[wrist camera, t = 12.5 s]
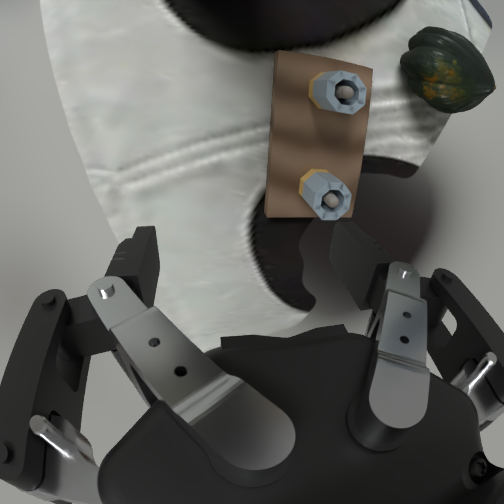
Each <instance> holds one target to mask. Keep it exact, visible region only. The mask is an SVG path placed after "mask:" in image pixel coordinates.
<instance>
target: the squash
mask: <svg viewBox="0 0 504 504" xmlns="http://www.w3.org/2000/svg"><path fill="white" fill-rule="evenodd" d="M408 46H409V50H410V51H408V52H406V53H404V54H403V55H402V56H401V59H400V64H401V66H402V67H403V69H404V70H405V71H406V72H407V73H409V76H408V85H409V87H410V88H411V89H412V90H413V91H414V92H415V93H416V94H417V95H418V96H419V97H420V98H422V99H424V100H426V102H427V103H428V104H429V105H430V106H431V107H433V108H434V109H436V110H438V111H441V112H444V113H450V114H452V113H457V112H464V111H467V110H470V109H472V108H474V107H476V106H477V105H478V104H480V103H481V102H482V101H483V100H484V99H485V98H486V97H487V96H488V95H490V94H491V93H492V92H493V91H494V90H495V89H496V86H495V81H494V78H493V75H492V73H491V71H490V69H489V67H488V65H487V63H486V61H485V59H484V57H483V56H482V54H481V53H480V52H479V51H478V49H477V48H476V47H475V46H474V45H473V44H472V43H471V42H470V41H469V40H468V39H466V38H465V37H464V36H462V35H460V34H458V33H455V32H452V31H448V30H446V29H443V28H439V27H430V26H429V27H425V28H424V29H422V30H421V31H419V32H417V34H416V35H414V36H413V37H412V38H411V39H410V40H409V43H408Z"/></svg>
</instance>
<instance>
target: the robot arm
mask: <svg viewBox="0 0 504 504" xmlns="http://www.w3.org/2000/svg"><path fill="white" fill-rule="evenodd" d="M329 258H330V263H331V265H332V266H333V268H334V269H335V271H336V272H337V274H338V276H339V277H340V279H341V280H342V282H343V283H344V285H345V286H346V288H347V290H348V291H349V293H350V294H351V296H352V297H353V299H354V301H355V302H356V304H357V305H358V307H359V309H360V310H366V309H372V313H371V315H370V318H369V322H368V326H367V329H366V333H365V336H364V335H360V334H355V333H348V332H347V330H346V328H345V326H344V324H341V325H334V326H327V327H320V328H315V329H312V330H309V331H307V332H304V333H301V334H298V335H296V336H292V337H289V338H281V337H271V336H261V335H243V336H229V337H221V347H218V348H215V349H212V350H210V351H207V352H205V353H203V352H202V351H201V350H200V349H199V348H198V347H197V346H196V345H195V344H193V343H192V342H191V341H190V340H189V339H188V338H187V337H186V336H185V335H184V334H183V333H182V332H181V331H180V330H179V329H178V328H177V327H176V326H175V325H174V324H173V323H172V322H171V321H170V320H169V319H168V318H167V317H166V316H165V315H164V314H163V313H162V312H161V311H160V310H159V309H158V308H157V307H156V306H153V305H154V299H155V293H156V288H157V282H158V277H159V271H160V260H159V252H158V245H157V237H156V230H155V227H154V226H141V227H137V228H136V230H135V233H134V235H133V237H132V238H128V239H125V240H124V241H123V242H121V243H120V244H119V245H118V247H117V249H116V251H115V254H114V256H113V258H112V260H111V262H110V265H109V267H108V269H107V272H106V274H105V276H104V277H103V278H100V279H98V280H96V281H94V282H93V283H92V284H91V285H90V286H89V288H88V290H87V295H84V296H81V297H77V298H73V299H69V300H67V297H66V295H65V293H64V292H63V291H61V290H59V289H52V290H48V291H46V292H44V293H42V294H40V296H38V297H37V298H36V299H35V301H34V303H33V305H32V307H31V309H30V311H29V313H28V315H27V317H26V319H25V322H24V324H23V326H22V328H21V331H20V333H19V335H18V338H17V340H16V343H15V345H14V348H13V350H12V353H11V355H10V358H9V361H8V364H7V367H6V369H5V372H4V375H3V379H2V382H1V385H0V479H2V480H4V481H5V482H7V483H9V484H12V485H13V486H15V487H17V488H18V489H19V490H21V491H23V492H26V493H28V494H30V495H33V496H35V497H37V498H39V499H42V500H45V501H50V502H53V503H55V504H72V503H75V504H504V468H500V467H497V466H495V465H493V464H491V463H490V462H489V461H488V460H487V458H486V456H485V454H484V452H483V447H482V443H481V438H480V431H482V430H483V429H485V428H486V427H487V426H489V425H490V424H491V423H492V422H493V421H494V420H496V419H497V418H498V417H499V416H500V415H501V414H502V413H504V333H503V331H502V330H501V329H500V327H499V326H498V325H497V324H496V322H495V321H494V320H493V318H492V317H491V316H490V315H489V313H488V312H487V311H486V310H485V308H484V307H483V306H482V305H481V304H480V302H479V301H478V300H477V299H476V298H475V296H474V295H473V294H472V293H471V292H470V291H469V290H468V288H467V287H466V286H465V285H464V284H463V283H462V282H461V280H460V279H459V278H458V277H457V276H456V275H454V274H453V273H452V272H450V271H448V270H446V269H442V268H438V269H435V270H434V272H433V275H432V277H431V278H426V277H420V274H419V273H418V271H417V270H416V269H415V268H414V267H412V266H411V265H409V264H406V263H403V262H394V261H393V259H392V258H391V257H390V256H389V255H388V254H387V253H386V252H385V251H384V250H383V249H382V248H381V247H380V246H379V245H378V244H377V242H376V241H375V240H374V239H373V238H372V237H370V236H369V235H367V234H365V233H363V231H361V230H360V228H359V227H358V226H357V225H356V224H355V223H354V222H337V223H336V224H335V227H334V232H333V236H332V241H331V246H330V251H329ZM447 309H449V310H450V312H451V313H452V315H453V316H454V317H455V319H456V321H457V328H456V331H455V332H454V334H453V336H452V335H451V334H450V332H449V331H448V329H447V328H446V326H445V325H444V324H443V322H442V321H441V320H442V318H443V317H444V315H445V313H446V311H447ZM107 351H111V352H112V354H113V356H114V357H115V358H116V360H117V362H118V363H119V365H120V366H121V367H122V369H123V371H124V372H125V373H126V375H127V376H128V378H129V379H130V380H131V382H132V383H133V385H134V386H135V388H136V389H137V391H138V392H139V394H140V395H141V397H142V398H143V400H144V401H145V403H146V404H147V406H148V407H149V409H148V410H147V411H146V413H145V414H144V415H143V416H142V417H141V418H140V419H139V420H138V421H137V422H136V424H135V425H134V426H133V427H132V428H131V429H130V430H129V431H128V432H127V433H126V434H125V435H124V436H123V438H122V439H121V440H120V441H119V442H118V443H117V444H116V445H115V446H114V447H113V448H112V449H111V450H110V451H109V452H108V454H107V455H106V456H105V458H104V459H103V461H102V463H101V465H100V467H98V466H97V465H96V463H95V461H94V458H93V451H92V447H91V444H90V442H89V441H88V439H87V438H86V437H85V436H84V435H82V434H81V433H80V428H81V418H82V409H83V402H84V395H85V387H86V382H87V376H88V370H89V364H90V359H91V355H94V354H98V353H103V352H107ZM427 351H428V353H429V354H430V356H431V358H432V360H433V361H434V363H435V365H436V367H437V369H438V370H439V372H440V374H441V376H442V378H443V379H444V380H443V379H441V378H440V377H438V376H436V375H434V374H433V373H431V372H430V370H429V369H428V368H427V367H426V352H427Z"/></svg>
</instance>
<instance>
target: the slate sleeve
mask: <svg viewBox="0 0 504 504" xmlns="http://www.w3.org/2000/svg"><path fill="white" fill-rule="evenodd" d="M329 190H330V191H331V192H332V193H333V194H334V195H335V196H336V197H337V198H338V199H339V204H338V206H337V207H335V208H331V207H329V206H328V205H327V204H326V203H325V202H324V201H323V200H322V196H323V195H324V194H326V193H327V192H328V191H329ZM299 194H300V195H301V196H302V197H303V198H304V200H305V201H306V202H307V203H308V204H309V205H310V207H311V208H312V209H313V210H314V211H315V212H316V214H317V215H318V216H319V217H320V218H321V219H322V220H337V219H339V218H340V217H341V216H342V215H343V214H344V213H346V212H347V211H348V210H349V206H350V201H351V196H352V194H351V193H350V191H349V190H348V188H347V187H346V186H345V184H344V183H343V182H342V181H341V180H339V179H338V178H336V177H335V176H334V175H332V174H331V173H329V172H328V171H327V170H323V169H311V170H310V171H309V172H307V173H306V174H305V175H304V176H303V177H302V178H300V186H299Z"/></svg>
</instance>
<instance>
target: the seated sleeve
mask: <svg viewBox="0 0 504 504" xmlns="http://www.w3.org/2000/svg"><path fill="white" fill-rule="evenodd" d="M335 86H349V87H351V88H352V89H353V91H354V95H353V97H352V98H350V99H344V98H336V97H335V96H334V94H335ZM366 90H367V88H366V87H365V85H364V84H363V82H362V81H361V79H360V78H359V77H358V75H357V74H354V73H350V72H346V71H341V70H339V71H329V72H321V73H320V74H318V75H317V76H316V77H314V78H313V79H312V80H310V81H309V93H308V96H309V98H310V99H311V100H312V101H313V103H314V104H315V105H316V106H317V108H319V109H324V110H330V111H335V112H341V113H347V114H352V115H353V114H354V113H355V112H357V111H358V110H359V109H360V108H362V107H363V106H364V105H365V100H366Z"/></svg>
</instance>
